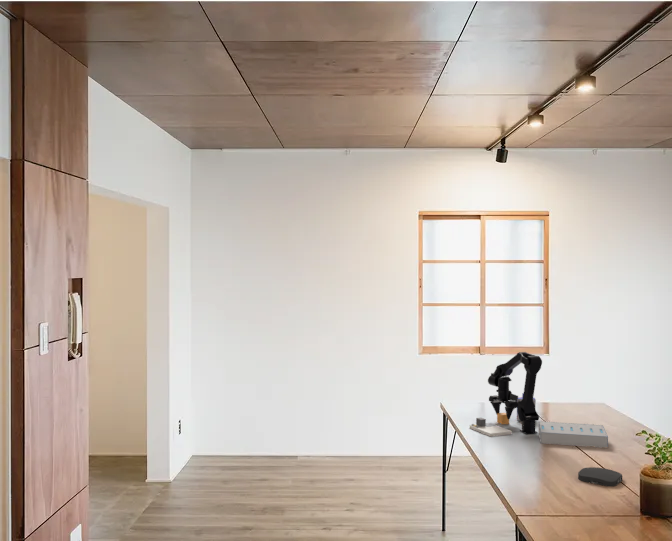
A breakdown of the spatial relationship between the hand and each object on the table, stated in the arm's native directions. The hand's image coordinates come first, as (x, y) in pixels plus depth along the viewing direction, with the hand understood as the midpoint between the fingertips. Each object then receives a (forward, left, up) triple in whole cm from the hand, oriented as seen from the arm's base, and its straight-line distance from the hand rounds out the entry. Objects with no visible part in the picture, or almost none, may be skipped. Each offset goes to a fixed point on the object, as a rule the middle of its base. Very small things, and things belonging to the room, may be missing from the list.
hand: (503, 417), depth 343 cm
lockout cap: (0, 0, -3) cm, 3 cm away
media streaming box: (-90, +21, -4) cm, 92 cm away
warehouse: (-42, -8, -4) cm, 44 cm away
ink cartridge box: (+1, -16, -3) cm, 16 cm away
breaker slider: (-6, +19, -1) cm, 19 cm away
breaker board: (-12, +17, -3) cm, 21 cm away
